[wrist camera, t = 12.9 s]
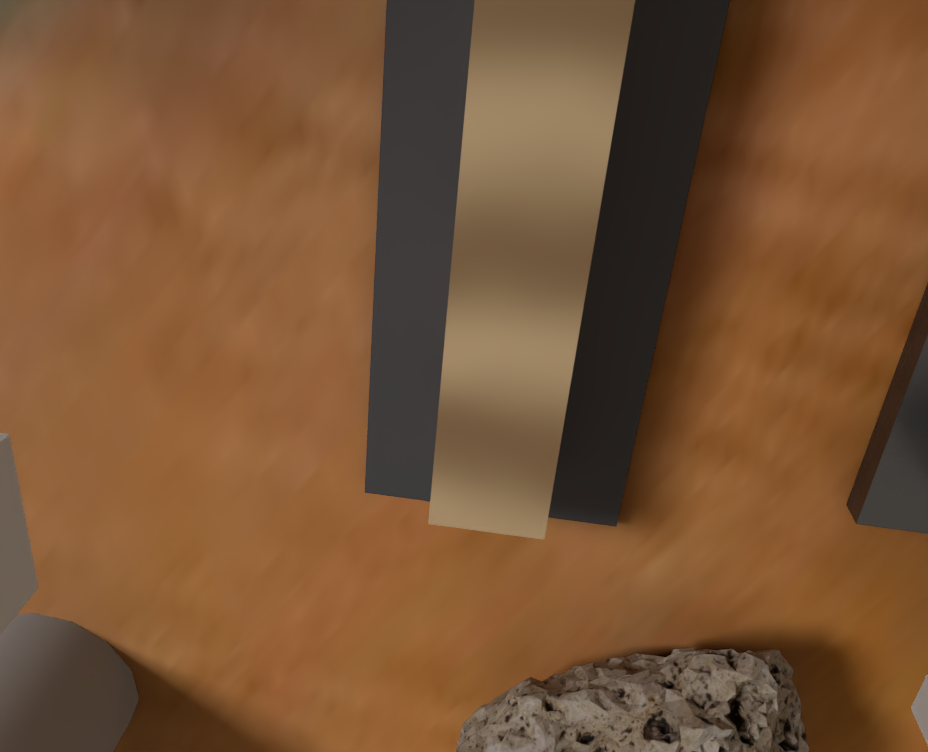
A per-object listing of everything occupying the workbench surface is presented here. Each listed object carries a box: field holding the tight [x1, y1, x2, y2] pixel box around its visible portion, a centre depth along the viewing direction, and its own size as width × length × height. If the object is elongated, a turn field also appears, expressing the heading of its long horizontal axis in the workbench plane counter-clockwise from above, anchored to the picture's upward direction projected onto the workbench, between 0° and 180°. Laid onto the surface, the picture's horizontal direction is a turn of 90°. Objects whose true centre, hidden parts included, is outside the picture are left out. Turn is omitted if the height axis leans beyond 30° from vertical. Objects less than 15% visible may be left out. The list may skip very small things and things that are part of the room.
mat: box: [365, 0, 730, 526], centre depth 28 cm, size 24×10×1 cm, turn 175°
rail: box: [428, 0, 635, 540], centre depth 26 cm, size 20×4×4 cm, turn 175°
